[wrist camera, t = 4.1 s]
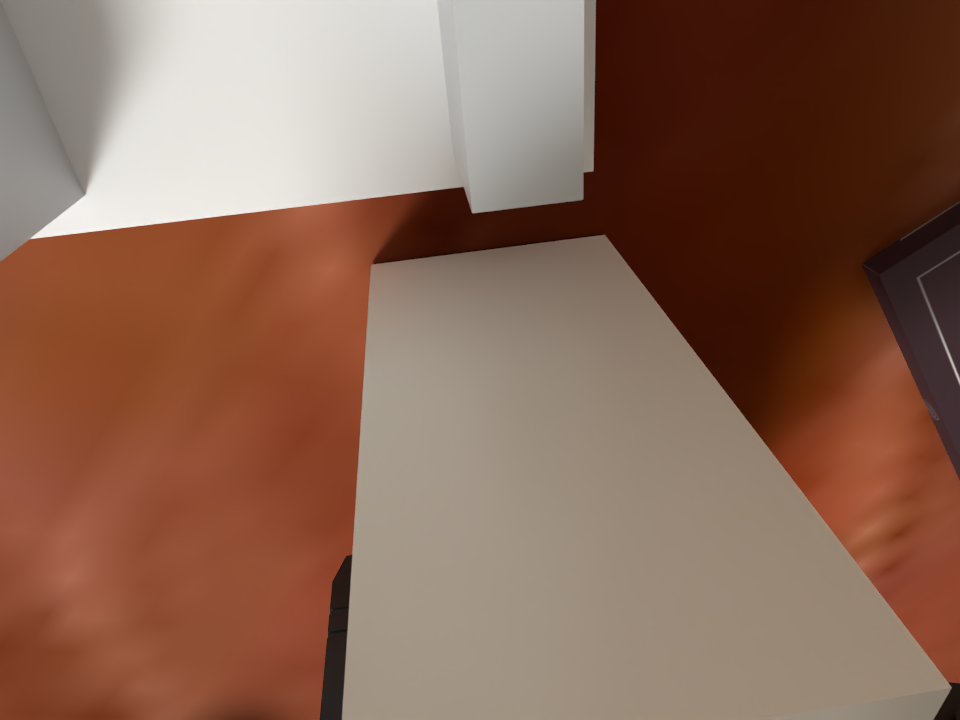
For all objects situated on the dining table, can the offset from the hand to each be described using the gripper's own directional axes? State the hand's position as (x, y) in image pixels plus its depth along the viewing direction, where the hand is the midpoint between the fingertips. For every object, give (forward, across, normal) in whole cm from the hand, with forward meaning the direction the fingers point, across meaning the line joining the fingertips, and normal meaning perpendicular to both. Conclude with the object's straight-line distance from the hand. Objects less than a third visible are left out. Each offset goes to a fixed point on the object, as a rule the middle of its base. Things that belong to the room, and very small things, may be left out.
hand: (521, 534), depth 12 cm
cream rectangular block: (+2, 0, 0) cm, 2 cm away
